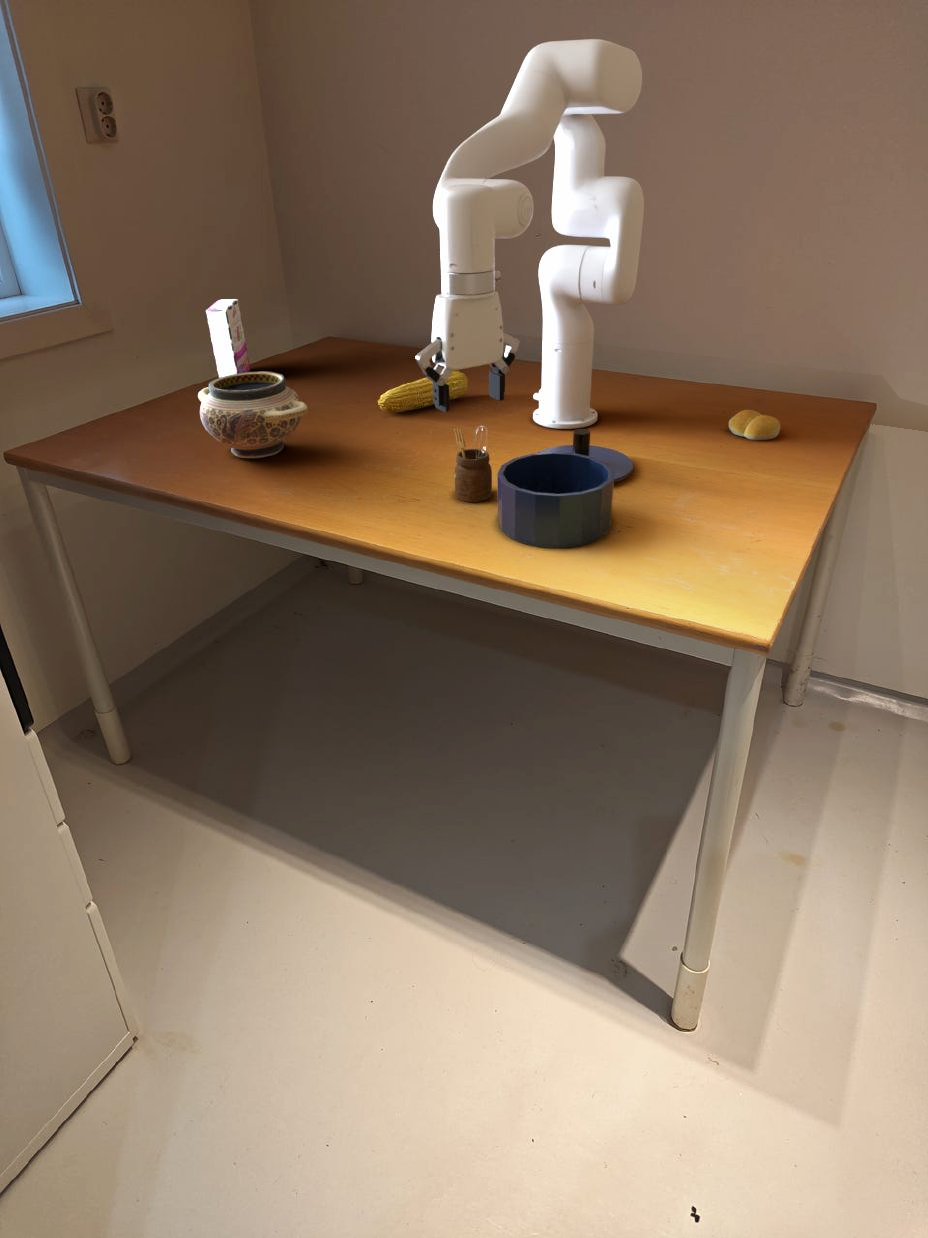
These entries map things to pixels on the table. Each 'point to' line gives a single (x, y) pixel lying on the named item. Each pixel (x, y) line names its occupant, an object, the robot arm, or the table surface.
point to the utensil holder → (472, 472)
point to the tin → (555, 499)
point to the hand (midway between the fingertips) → (469, 404)
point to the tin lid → (597, 453)
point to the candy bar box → (228, 337)
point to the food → (420, 393)
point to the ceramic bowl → (251, 412)
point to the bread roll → (754, 425)
